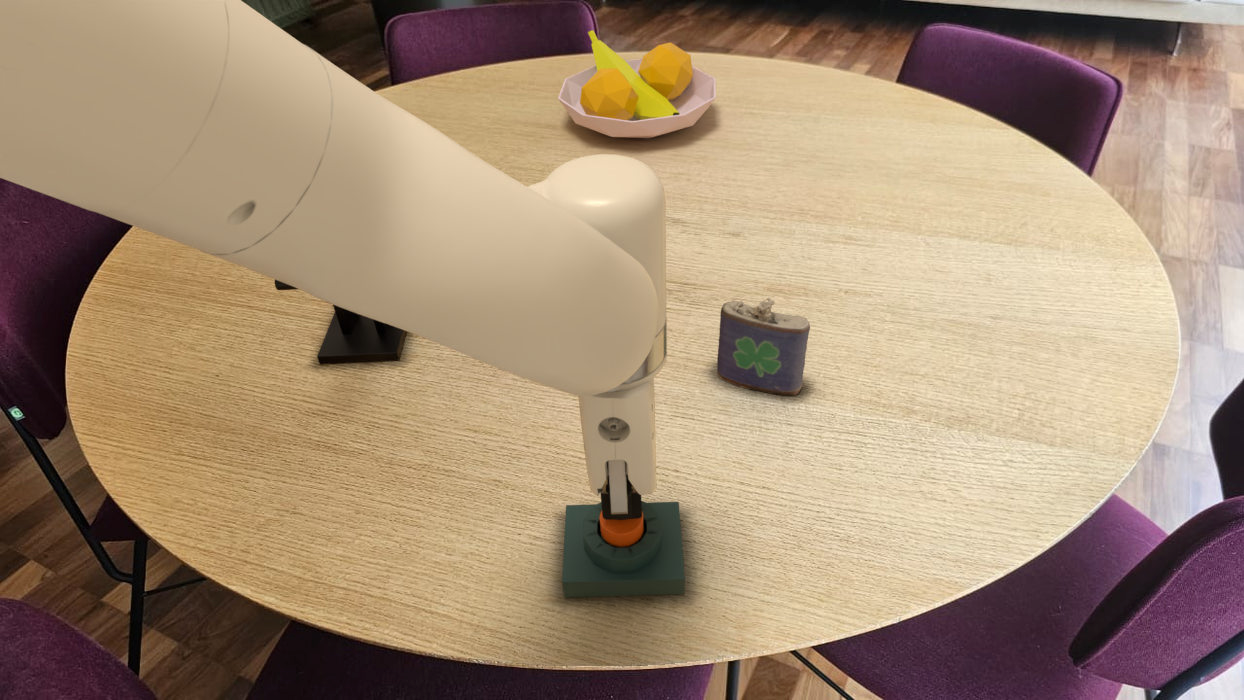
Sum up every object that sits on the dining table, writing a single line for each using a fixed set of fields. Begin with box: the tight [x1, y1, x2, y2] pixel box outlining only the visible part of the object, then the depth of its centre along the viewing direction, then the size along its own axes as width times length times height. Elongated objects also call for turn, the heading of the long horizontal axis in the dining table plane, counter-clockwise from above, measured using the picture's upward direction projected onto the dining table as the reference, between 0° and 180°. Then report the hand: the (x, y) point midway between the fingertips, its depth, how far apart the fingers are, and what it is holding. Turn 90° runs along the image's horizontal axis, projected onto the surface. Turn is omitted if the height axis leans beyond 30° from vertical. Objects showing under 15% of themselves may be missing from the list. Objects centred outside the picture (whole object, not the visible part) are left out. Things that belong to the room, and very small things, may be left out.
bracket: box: [316, 304, 408, 365], centre depth 92 cm, size 12×9×14 cm
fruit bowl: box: [557, 29, 717, 139], centre depth 136 cm, size 28×27×11 cm
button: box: [600, 511, 644, 547], centre depth 67 cm, size 4×4×2 cm
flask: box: [716, 297, 811, 397], centre depth 83 cm, size 9×3×11 cm, turn 66°
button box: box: [561, 500, 686, 599], centre depth 69 cm, size 10×8×4 cm
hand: (622, 511), depth 66 cm, fingers closed
